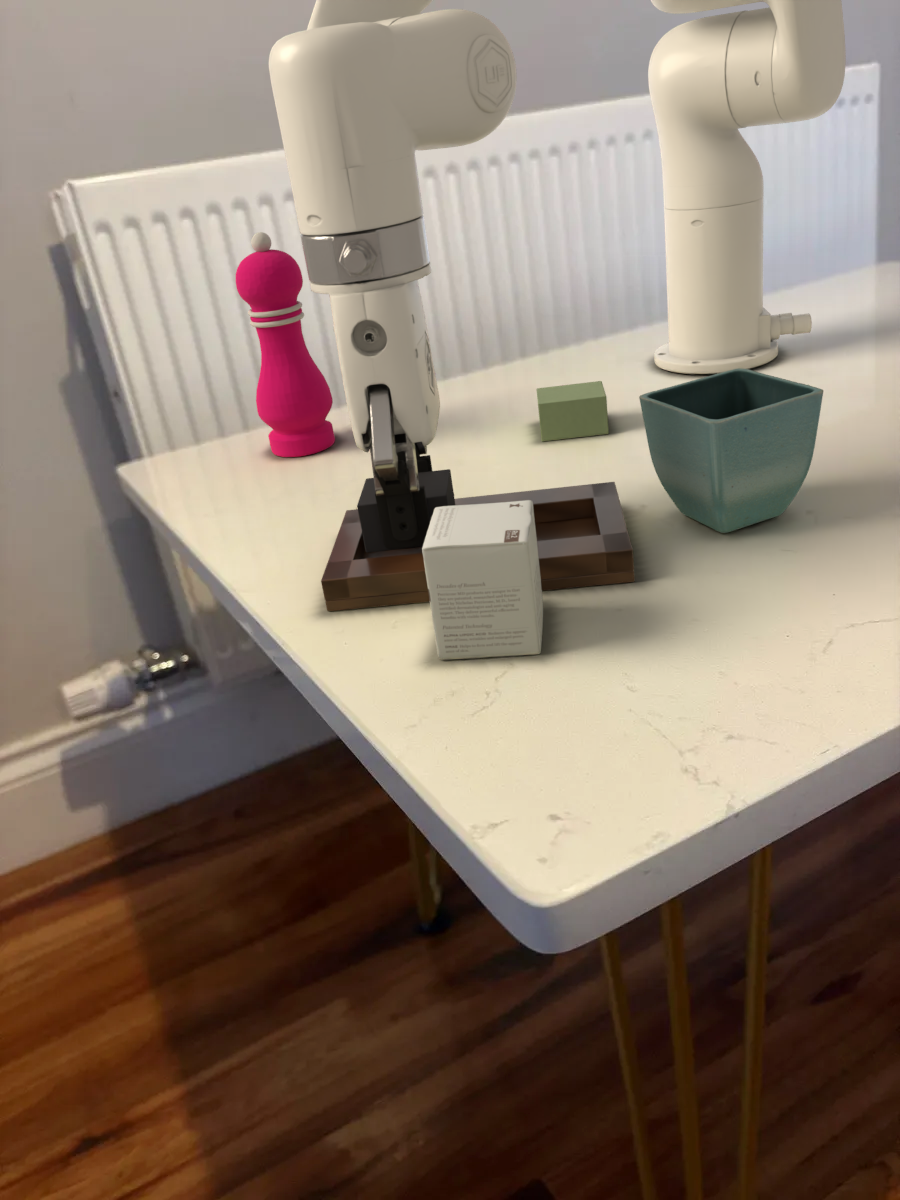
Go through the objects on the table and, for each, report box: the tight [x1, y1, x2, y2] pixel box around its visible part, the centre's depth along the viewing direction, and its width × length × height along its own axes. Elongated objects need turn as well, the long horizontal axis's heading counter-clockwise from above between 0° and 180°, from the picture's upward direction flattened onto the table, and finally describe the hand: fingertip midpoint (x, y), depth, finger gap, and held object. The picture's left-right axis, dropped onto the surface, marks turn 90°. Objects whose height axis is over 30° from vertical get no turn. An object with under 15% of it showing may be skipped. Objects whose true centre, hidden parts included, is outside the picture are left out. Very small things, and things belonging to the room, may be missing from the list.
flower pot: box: [638, 368, 824, 534], centre depth 70 cm, size 9×9×9 cm
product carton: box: [422, 500, 544, 661], centre depth 60 cm, size 6×6×7 cm
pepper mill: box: [235, 231, 336, 458], centre depth 95 cm, size 7×7×20 cm
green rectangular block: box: [536, 380, 610, 442], centre depth 93 cm, size 6×5×4 cm
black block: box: [356, 468, 456, 553], centre depth 70 cm, size 6×5×4 cm
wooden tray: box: [320, 481, 636, 612], centre depth 71 cm, size 20×12×2 cm, turn 87°
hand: (412, 525), depth 71 cm, fingers closed on black block, 5 cm apart
